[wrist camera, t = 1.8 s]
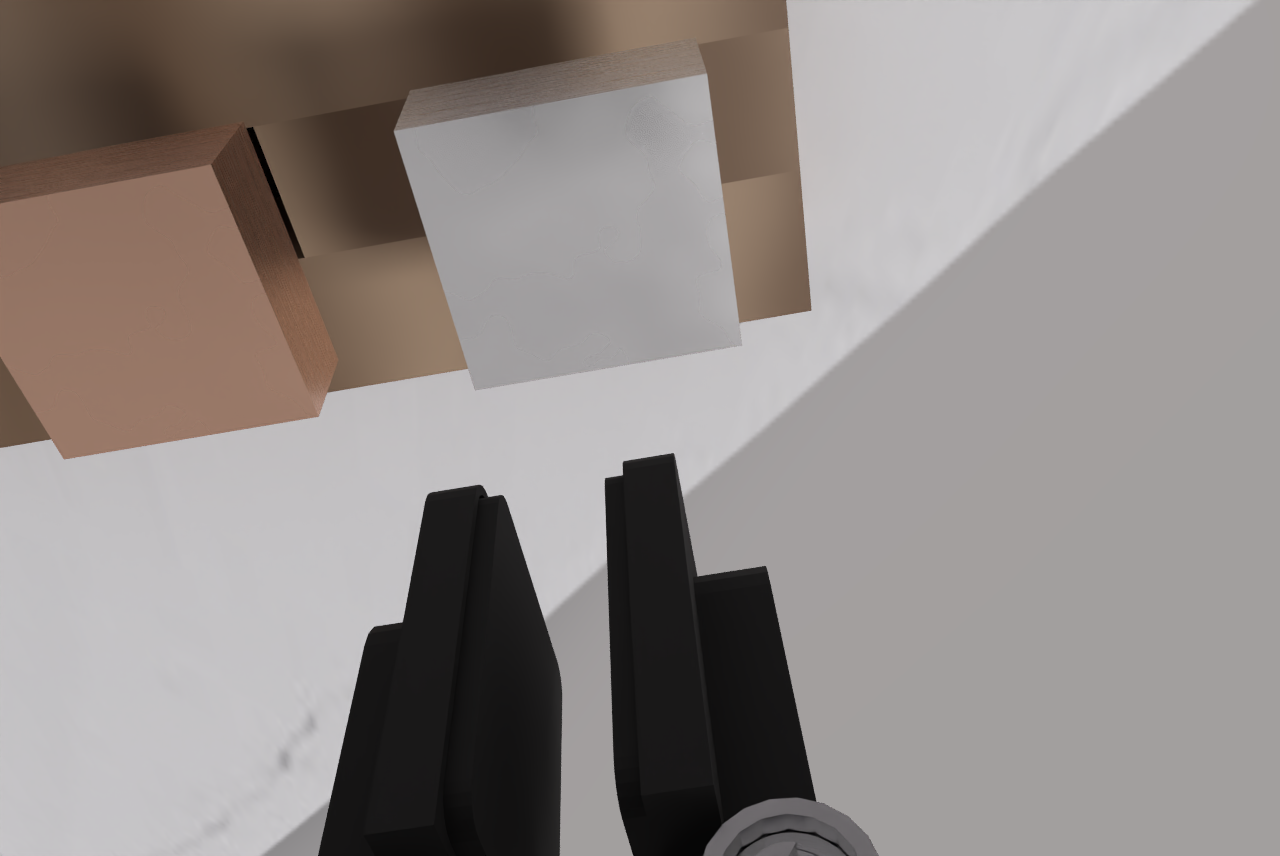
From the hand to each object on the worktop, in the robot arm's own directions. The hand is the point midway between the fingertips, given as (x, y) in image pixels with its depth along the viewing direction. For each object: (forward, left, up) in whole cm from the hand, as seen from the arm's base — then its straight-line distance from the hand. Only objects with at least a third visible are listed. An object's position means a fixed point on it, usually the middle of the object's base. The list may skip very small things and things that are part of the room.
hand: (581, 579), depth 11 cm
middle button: (+8, 0, -14) cm, 16 cm away
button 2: (0, 0, -14) cm, 14 cm away
